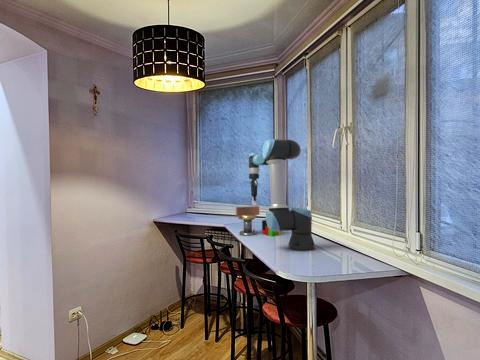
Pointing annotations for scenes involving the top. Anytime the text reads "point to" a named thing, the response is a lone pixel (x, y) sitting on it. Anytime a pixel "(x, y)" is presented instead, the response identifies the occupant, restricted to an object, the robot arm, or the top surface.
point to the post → (247, 229)
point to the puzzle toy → (267, 231)
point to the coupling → (247, 212)
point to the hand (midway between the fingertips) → (254, 204)
